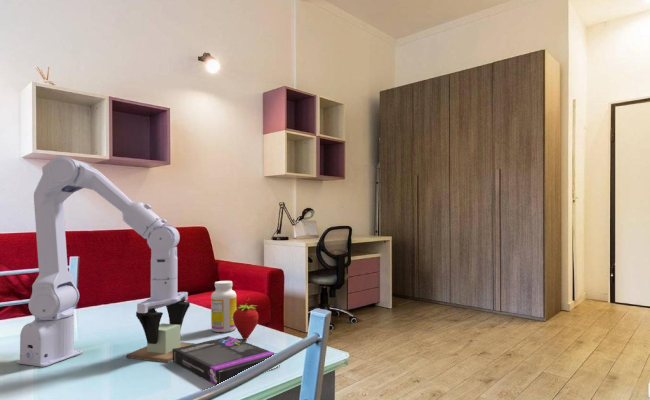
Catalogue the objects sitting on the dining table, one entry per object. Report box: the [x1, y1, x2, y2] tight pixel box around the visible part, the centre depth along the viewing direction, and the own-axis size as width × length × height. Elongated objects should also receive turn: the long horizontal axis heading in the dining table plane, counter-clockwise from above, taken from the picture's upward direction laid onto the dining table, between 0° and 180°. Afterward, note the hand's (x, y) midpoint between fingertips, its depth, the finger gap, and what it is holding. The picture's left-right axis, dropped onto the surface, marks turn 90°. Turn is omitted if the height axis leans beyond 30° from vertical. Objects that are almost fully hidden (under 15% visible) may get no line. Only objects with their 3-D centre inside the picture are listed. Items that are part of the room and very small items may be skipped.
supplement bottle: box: [210, 280, 237, 333], centre depth 113 cm, size 7×7×13 cm
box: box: [172, 336, 281, 386], centre depth 86 cm, size 14×4×20 cm
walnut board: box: [126, 341, 195, 363], centre depth 95 cm, size 11×11×1 cm
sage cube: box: [146, 323, 181, 354], centre depth 95 cm, size 5×5×5 cm
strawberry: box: [233, 297, 259, 340], centre depth 104 cm, size 6×8×10 cm
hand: (164, 338), depth 95 cm, fingers open, 7 cm apart
